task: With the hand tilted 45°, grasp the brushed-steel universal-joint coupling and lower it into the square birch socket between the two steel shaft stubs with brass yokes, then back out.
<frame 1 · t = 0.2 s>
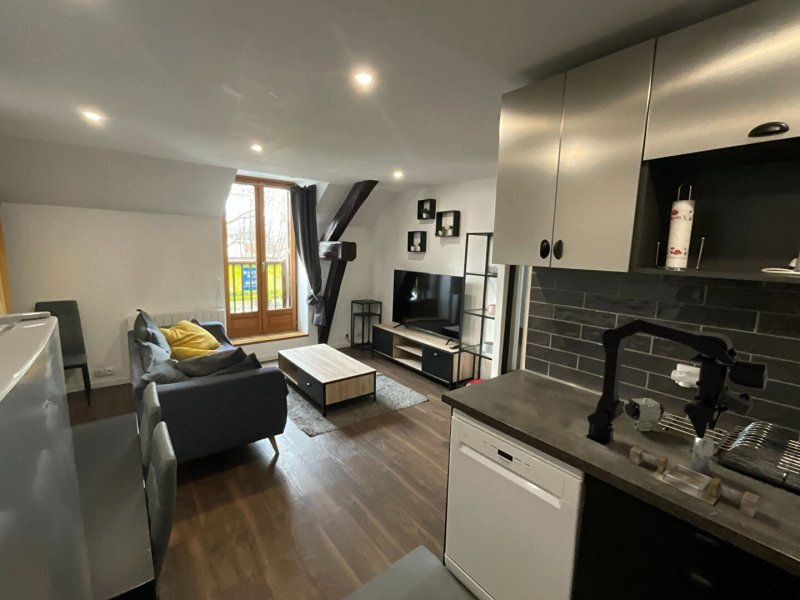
hand: (706, 433, 100), 14 cm above the worktop, tool pointing down, fingers open, 9 cm apart
pneumatic valve: (642, 430, 130), on the worktop
shaft rig: (686, 483, 101), on the worktop
ujoint coupling: (700, 469, 107), on the worktop
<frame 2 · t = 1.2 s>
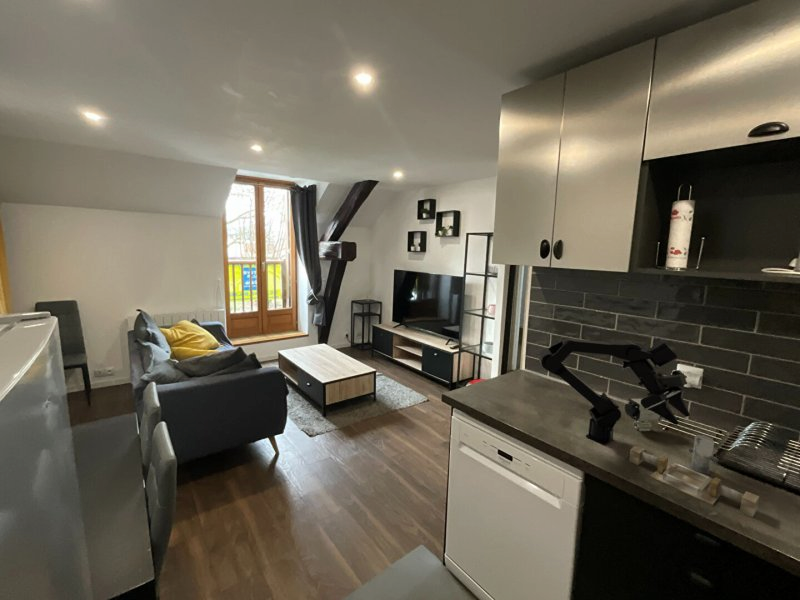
hand: (683, 420, 109), 14 cm above the worktop, tool tilted 45°, fingers open, 9 cm apart
nothing on the worktop moved.
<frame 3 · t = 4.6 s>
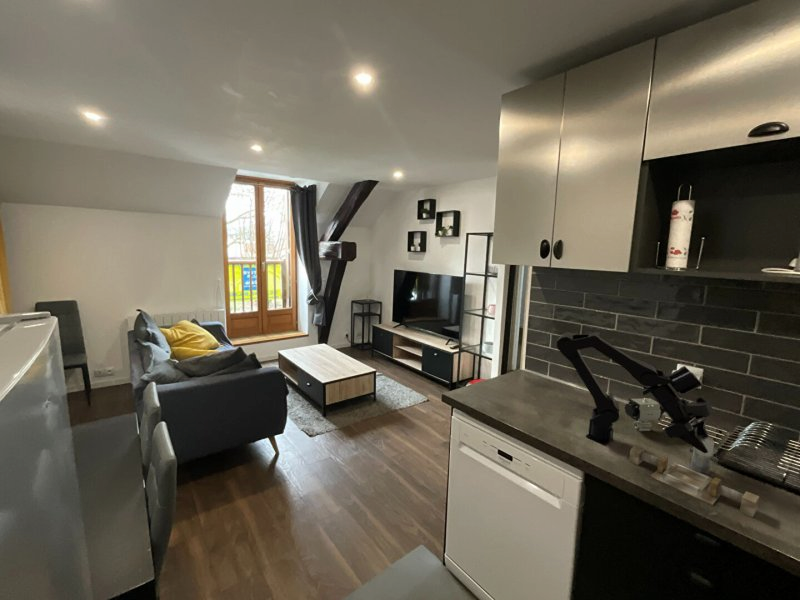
hand: (709, 450, 105), 7 cm above the worktop, tool tilted 45°, fingers closed on ujoint coupling, 4 cm apart
ujoint coupling: (700, 469, 107), on the worktop, touching gripper
everything else where it was.
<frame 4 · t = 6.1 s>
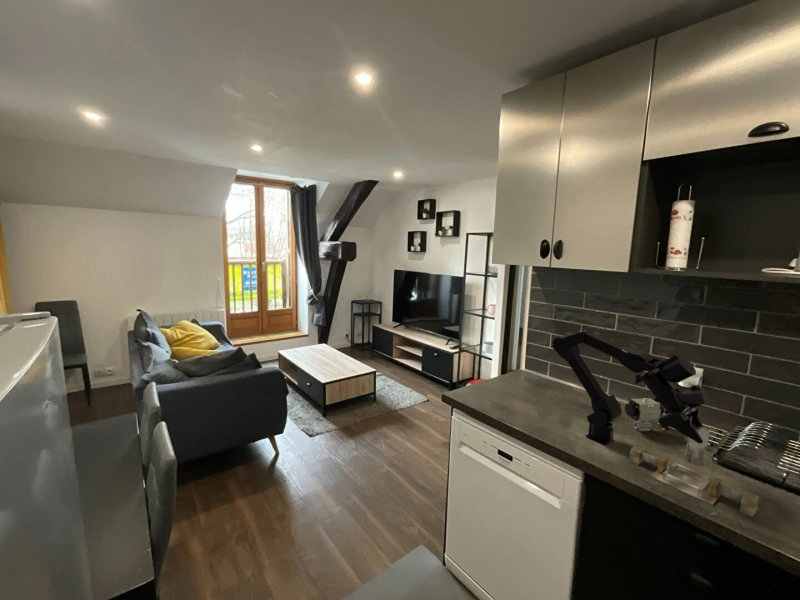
hand: (704, 440, 100), 12 cm above the worktop, tool tilted 45°, fingers closed on ujoint coupling, 4 cm apart
ujoint coupling: (694, 461, 102), point 5 cm above the worktop, touching gripper
everything else where it was.
when the fingers open (8 cm above the worktop, at t = 8.1 s): ujoint coupling stays where it is, resting on shaft rig.
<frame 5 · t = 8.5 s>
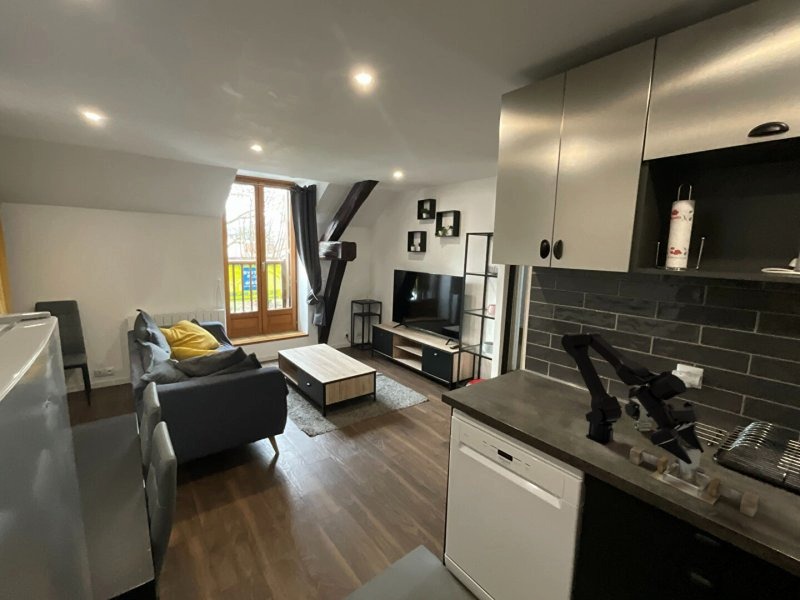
hand: (696, 458, 98), 9 cm above the worktop, tool tilted 45°, fingers open, 9 cm apart
ujoint coupling: (686, 482, 101), resting on shaft rig
everything else where it was.
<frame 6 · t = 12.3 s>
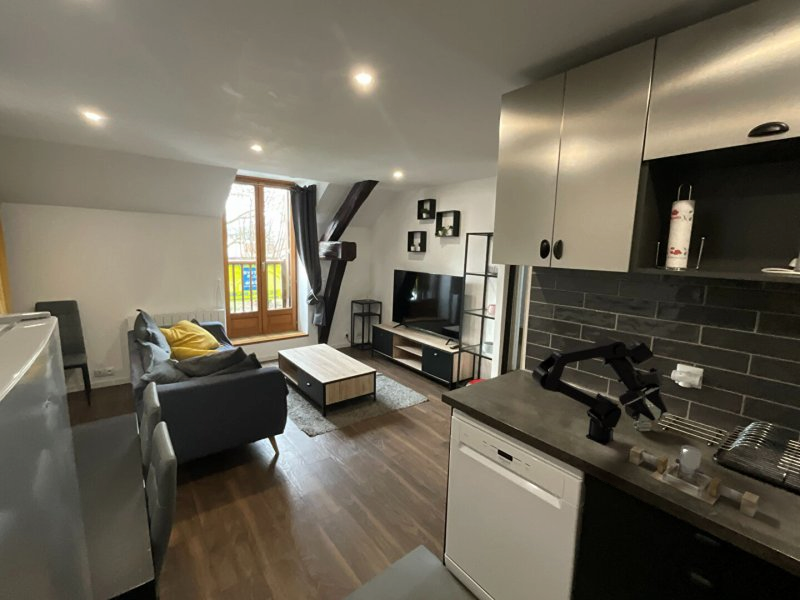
hand: (660, 416, 112), 14 cm above the worktop, tool tilted 45°, fingers open, 9 cm apart
nothing on the worktop moved.
at the end: ujoint coupling 0.1 cm off-centre on the shaft rig, point 0.4 cm above the shaft rig's base; ujoint coupling tilted 1°; the gripper is holding nothing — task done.
